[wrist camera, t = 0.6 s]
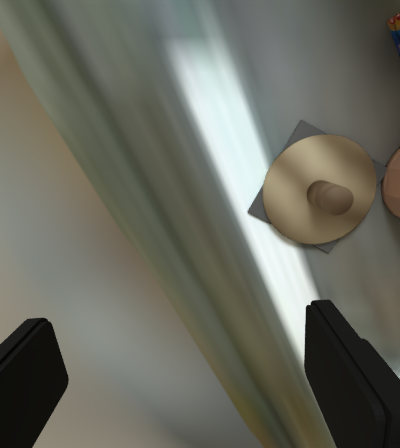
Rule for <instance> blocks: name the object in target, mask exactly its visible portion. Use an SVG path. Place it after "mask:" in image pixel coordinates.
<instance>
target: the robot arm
mask: <svg viewBox="0 0 400 448" xmlns="http://www.w3.org/2000/svg"><path fill="white" fill-rule="evenodd" d="M304 368H305V373H306V376H307V379H308V381H309V384H310V386H311V388H312V391H313V393H314V395H315V398H316V400H317V402H318V405H319V407H320V409H321V412H322V414H323V416H324V419H325V421H326V423H327V426H328V428H329V430H330V433H331V435H332V437H333V440H334V442H335V444H336V447H337V448H400V379H399V378H398V377H397V376H396V374H395V373H394V372H393V371H392V369H391V368H390V367H389V366H388V365H387V363H386V362H385V361H384V360H383V358H382V357H381V356H380V355H379V354H378V352H377V351H376V350H375V349H374V348H373V346H372V345H371V344H370V343H369V342H368V341H367V340H365V339H361V338H360V337H359V336H358V334H357V333H356V332H355V331H354V329H353V328H352V327H351V326H350V324H349V323H348V322H347V321H346V319H345V318H344V317H343V315H342V314H341V313H340V312H339V310H338V309H337V308H336V307H335V305H334V304H333V303H332V302H331V301H330V300H314V301H312V302H311V305H307V306H306V324H305V358H304ZM68 380H69V379H68V374H67V371H66V368H65V365H64V362H63V358H62V355H61V352H60V349H59V345H58V342H57V339H56V336H55V333H54V329H53V326H52V324H51V322H48V320H47V319H46V318H34V319H27V320H26V321H24V322H23V323H22V324H21V325H20V326H19V327H18V328H17V329H16V330H15V331H14V332H13V333H12V334H11V335H10V336H9V337H8V338H7V339H5V340H4V341H3V342H2V343H1V344H0V448H32V447H33V445H34V443H35V442H36V440H37V438H38V437H39V435H40V433H41V431H42V430H43V428H44V426H45V425H46V423H47V421H48V420H49V418H50V416H51V414H52V413H53V411H54V409H55V407H56V406H57V404H58V402H59V400H60V399H61V397H62V395H63V394H64V392H65V390H66V388H67V385H68Z"/></svg>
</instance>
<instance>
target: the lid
mask: <svg viewBox="0 0 400 448" xmlns="http://www.w3.org/2000/svg"><path fill="white" fill-rule="evenodd" d="M376 184H377V181H376V172H375V168H374V165H373V162H372V160H371V159H370V157H369V155H368V154H367V153H366V151H365V150H364V149H363V148H362V147H361V146H360V145H358V144H357V143H355V142H354V141H352V140H350V139H348V138H345V137H342V136H337V135H316V136H311V137H307V138H304V139H301V140H299V141H297V142H295V143H293V144H292V145H290V146H289V147H287V148H286V149H285V150H284V151H282V152H281V153H280V154H279V155H278V157H277V158H276V159H275V160H274V161H273V163H272V164H271V166H270V168H269V170H268V172H267V174H266V177H265V180H264V184H263V191H262V200H263V206H264V209H265V212H266V215H267V217H268V219H269V220H270V222H271V223H272V225H273V226H274V227H275V228H276V229H277V230H278V231H279V232H280V233H281V234H283V235H284V236H286V237H287V238H289V239H291V240H294V241H296V242H300V243H306V244H320V243H326V242H330V241H333V240H336V239H338V238H340V237H342V236H344V235H345V234H347V233H349V232H350V231H351V230H353V229H354V228H355V227H356V226H357V225H358V224H359V223H360V222H361V221H362V220H363V218H364V217H365V216H366V214H367V213H368V211H369V209H370V207H371V205H372V203H373V200H374V197H375V192H376Z"/></svg>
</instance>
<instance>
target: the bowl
mask: <svg viewBox="0 0 400 448" xmlns="http://www.w3.org/2000/svg"><path fill="white" fill-rule="evenodd" d="M386 167H387V170H386V173H385V176H384V177H383V179H382V181H381V193H382V198H383V200H384V203H385V205H386V206H387V208H388V209H389V210H390V212H392V213H393V214H394V215H395V216H397V217H398V218H400V147H399V148H398V149H397V150H396V151H395V153H394V154H393V155H392V157H391V158H390V160H389V161H388V163H387V165H386Z"/></svg>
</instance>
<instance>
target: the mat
mask: <svg viewBox="0 0 400 448" xmlns="http://www.w3.org/2000/svg"><path fill="white" fill-rule="evenodd" d="M316 135H328V134H326V133H324V132H323V131H321V130H319V129H317V128H316V127H314V126H312V125H310V124H308V123H307V122H305V121H303V120H300V122H299V124H298V125H297V127H296V129H295V131H294V132H293V134H292V136H291V137H290V139H289V141H288V143H287V144H286V146H285V148H284V150H285V149H286V148H287V147H289V146H290V145H292V144H293V143H295V142H297V141H299V140H301V139H304V138H307V137H311V136H316ZM284 150H283V151H284ZM370 159H371V158H370ZM371 160H372V159H371ZM372 162H373V165H374V168H375V172H376V181H377V184H376V187H377V185H378V184H379V183H380V181H381V180H382V179H383V177H384V176H385V173H386V170H387V167H385V166H383V165H381V164H379V163H378V162H376V161H374V160H372ZM262 191H263V186H262V187H261V189H260V191H259V193H258V194H257V196H256V198H255V200H254V201H253V203H252V205H251V206H250V208H249V210H248V213H250V214H252V215H254V216H256V217H258V218H260V219H262V220H264V221H266V222H268V223H270V224H272V223H271V222H270V220H269V219H268V217H267V215H266V212H265V209H264V206H263V200H262ZM338 239H339V238H338ZM338 239H336V240H333V241H330V242H326V243H320V244H312V245H314V246H316V247H318V248H320V249H322V250H324V251H326V252H328V253H329V252H330V251H331V249H332V248H333V246H334V245H335V244H336V242H337V241H338Z"/></svg>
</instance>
